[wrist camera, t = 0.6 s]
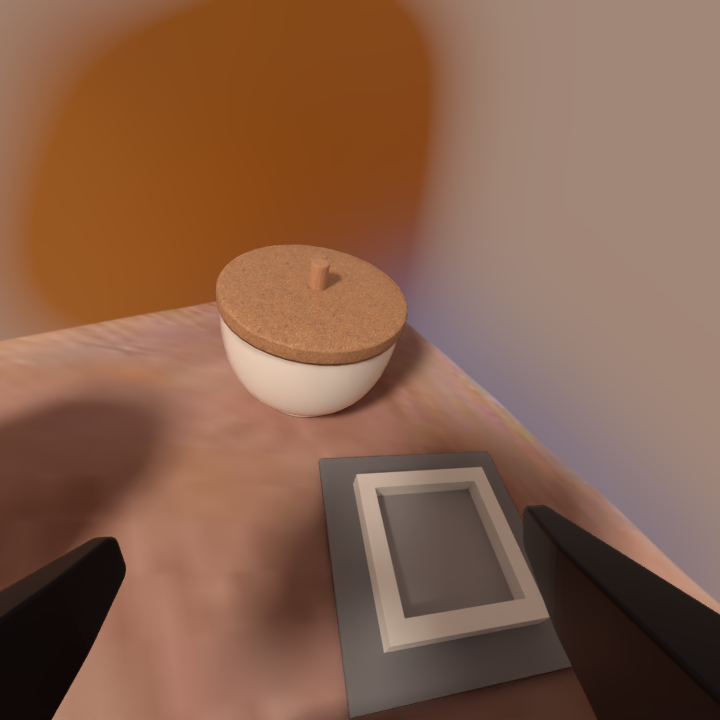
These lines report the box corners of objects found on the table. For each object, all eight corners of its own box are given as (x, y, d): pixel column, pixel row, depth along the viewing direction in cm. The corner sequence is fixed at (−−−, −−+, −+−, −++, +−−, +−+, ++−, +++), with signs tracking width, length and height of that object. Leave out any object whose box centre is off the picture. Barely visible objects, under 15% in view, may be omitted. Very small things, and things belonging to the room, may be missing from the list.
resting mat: (586, 663, 20) (605, 656, 19) (349, 719, 17) (356, 714, 16) (485, 454, 30) (494, 442, 29) (318, 462, 26) (321, 448, 25)
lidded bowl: (327, 322, 38) (347, 214, 31) (408, 411, 31) (457, 298, 24) (197, 355, 31) (184, 225, 24) (264, 477, 25) (273, 347, 17)
